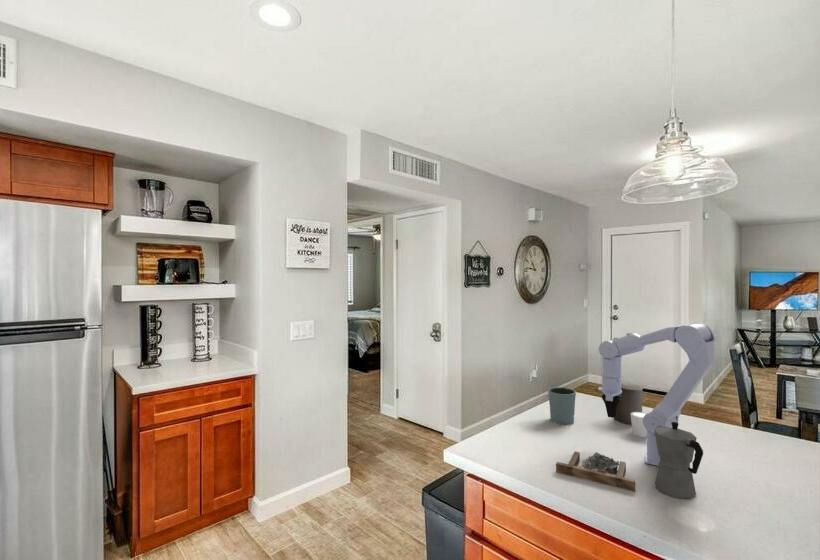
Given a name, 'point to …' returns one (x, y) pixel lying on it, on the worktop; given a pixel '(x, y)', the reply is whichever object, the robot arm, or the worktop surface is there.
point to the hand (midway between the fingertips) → (611, 417)
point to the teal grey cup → (562, 405)
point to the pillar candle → (629, 402)
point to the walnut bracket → (596, 473)
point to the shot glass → (638, 424)
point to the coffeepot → (676, 461)
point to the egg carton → (601, 463)
